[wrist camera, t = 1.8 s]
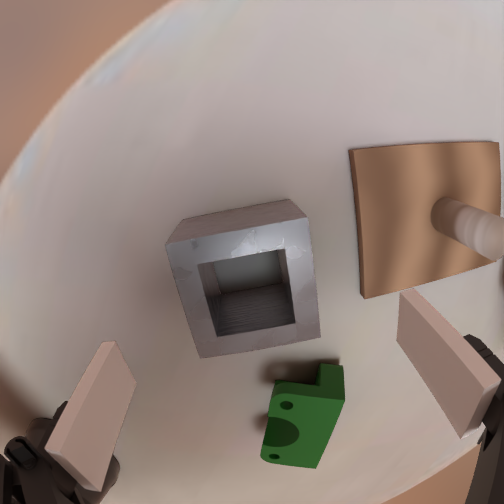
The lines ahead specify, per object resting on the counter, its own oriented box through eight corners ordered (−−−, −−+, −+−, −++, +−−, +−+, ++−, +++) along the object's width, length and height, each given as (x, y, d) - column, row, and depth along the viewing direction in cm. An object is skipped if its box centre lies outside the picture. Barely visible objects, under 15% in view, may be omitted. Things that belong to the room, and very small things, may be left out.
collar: (207, 313, 25) (200, 358, 19) (182, 219, 22) (164, 244, 17) (303, 295, 25) (320, 337, 19) (289, 199, 22) (308, 217, 17)
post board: (360, 293, 25) (401, 347, 18) (348, 149, 21) (401, 154, 14) (490, 258, 25) (541, 289, 17) (492, 141, 21) (552, 150, 13)
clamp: (282, 347, 32) (275, 370, 23) (337, 354, 31) (349, 380, 22) (264, 440, 31) (252, 484, 22) (314, 447, 30) (316, 492, 21)
